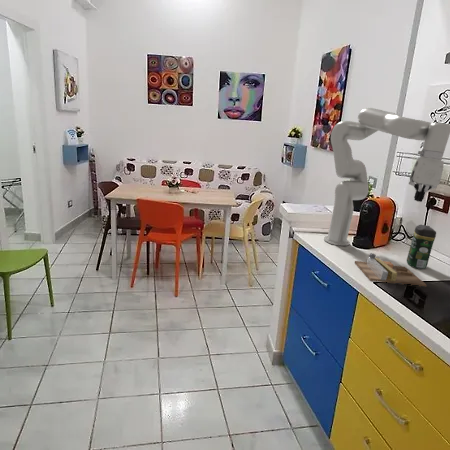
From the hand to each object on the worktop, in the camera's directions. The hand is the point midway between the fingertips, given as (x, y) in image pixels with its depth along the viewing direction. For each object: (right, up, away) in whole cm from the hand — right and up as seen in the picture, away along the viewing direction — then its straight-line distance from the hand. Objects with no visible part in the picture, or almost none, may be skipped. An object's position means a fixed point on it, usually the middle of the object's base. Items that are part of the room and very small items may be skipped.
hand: (417, 200), depth 143 cm
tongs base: (-17, -29, 0) cm, 33 cm away
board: (-12, -30, +1) cm, 32 cm away
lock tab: (-12, -29, +2) cm, 31 cm away
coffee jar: (+8, -28, +16) cm, 33 cm away
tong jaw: (-15, -29, -1) cm, 33 cm away
